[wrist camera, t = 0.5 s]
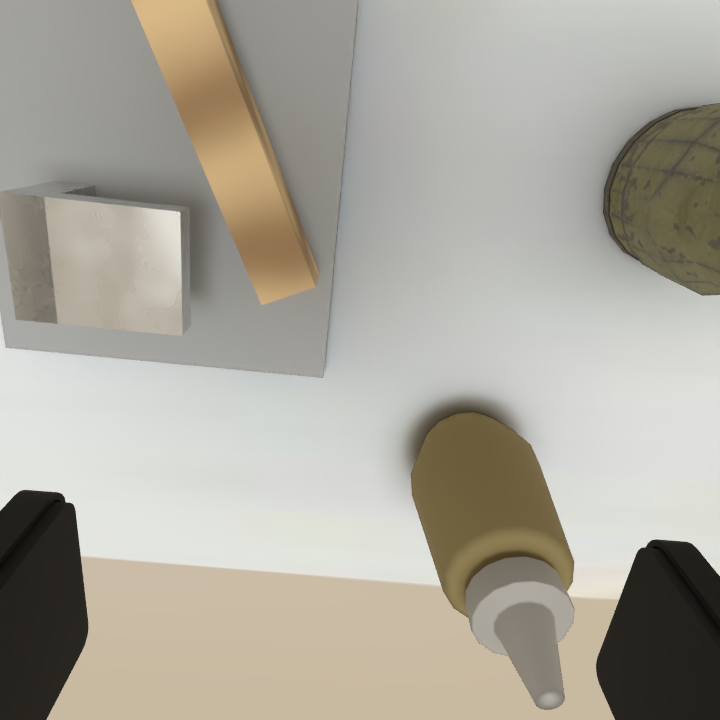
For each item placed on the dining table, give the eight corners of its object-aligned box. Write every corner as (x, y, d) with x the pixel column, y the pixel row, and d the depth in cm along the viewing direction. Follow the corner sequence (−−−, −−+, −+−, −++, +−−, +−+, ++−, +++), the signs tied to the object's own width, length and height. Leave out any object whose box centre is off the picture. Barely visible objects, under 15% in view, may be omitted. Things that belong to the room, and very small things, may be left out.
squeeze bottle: (397, 491, 39) (428, 759, 23) (414, 389, 36) (465, 613, 20) (509, 501, 40) (620, 772, 23) (536, 401, 37) (686, 631, 20)
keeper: (56, 180, 29) (-3, 192, 25) (208, 197, 30) (180, 211, 25) (67, 289, 32) (15, 319, 27) (208, 304, 32) (182, 336, 27)
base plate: (-75, -338, 23) (-103, -369, 22) (382, -268, 24) (384, -292, 22) (19, 338, 35) (5, 347, 33) (324, 367, 35) (323, 377, 34)
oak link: (46, -215, 23) (-76, -350, 17) (133, -257, 23) (42, -411, 16) (261, 292, 32) (237, 335, 25) (327, 269, 31) (320, 308, 25)
